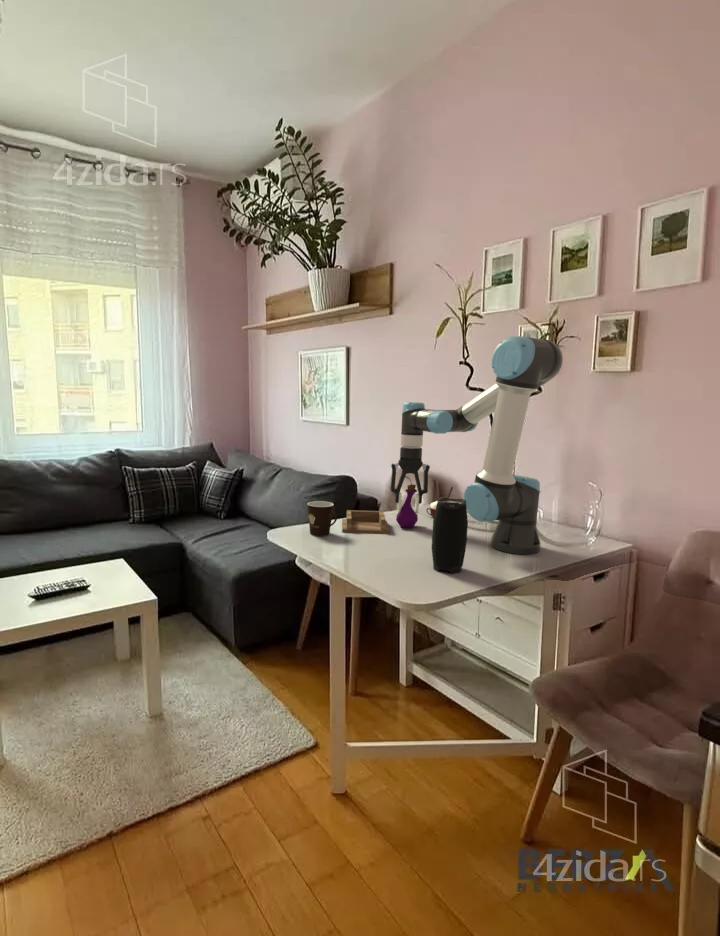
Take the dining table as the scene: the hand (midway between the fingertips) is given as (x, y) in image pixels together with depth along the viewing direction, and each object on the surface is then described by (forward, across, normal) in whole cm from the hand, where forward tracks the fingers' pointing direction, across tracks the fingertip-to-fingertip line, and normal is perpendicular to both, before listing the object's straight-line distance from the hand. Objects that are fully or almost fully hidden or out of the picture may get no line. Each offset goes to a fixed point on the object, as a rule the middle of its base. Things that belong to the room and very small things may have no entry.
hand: (407, 511), depth 199 cm
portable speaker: (+6, -6, +45) cm, 46 cm away
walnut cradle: (+5, +15, +3) cm, 16 cm away
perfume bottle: (+5, 0, 0) cm, 5 cm away
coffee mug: (+6, +30, +14) cm, 34 cm away
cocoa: (+6, -14, -16) cm, 22 cm away
